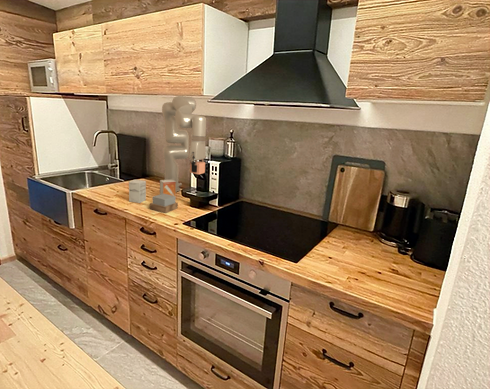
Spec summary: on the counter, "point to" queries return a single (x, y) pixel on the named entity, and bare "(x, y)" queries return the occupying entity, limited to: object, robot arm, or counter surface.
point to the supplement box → (137, 191)
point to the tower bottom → (162, 208)
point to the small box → (168, 187)
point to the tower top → (163, 199)
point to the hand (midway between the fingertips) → (197, 170)
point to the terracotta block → (198, 168)
